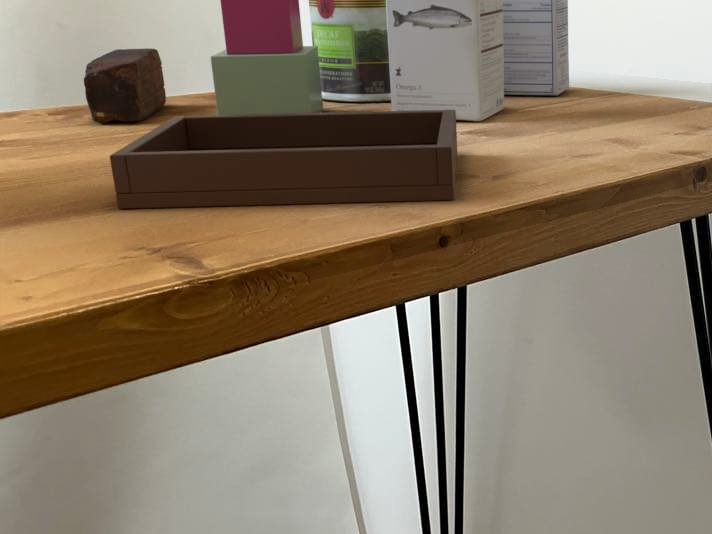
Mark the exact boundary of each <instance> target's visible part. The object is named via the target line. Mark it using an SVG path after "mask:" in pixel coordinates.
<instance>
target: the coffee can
mask: <svg viewBox="0 0 712 534" xmlns="http://www.w3.org/2000/svg"><path fill="white" fill-rule="evenodd" d="M308 6H309V17H310V18H309V19H310V30H311V43H312V46H317V47H318V57H319V68H320V79H321V91H322V101H329V102H340V103H386V102H388V103H389V102H391V87H390V69H389V50H388V32H387V16H386V0H308Z"/></svg>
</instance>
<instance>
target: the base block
mask: <svg viewBox="0 0 712 534" xmlns="http://www.w3.org/2000/svg"><path fill="white" fill-rule="evenodd" d="M210 65H211V72H212V80H213V89H214V95H215V103H216V104H215V105H216V113H217V115H247V114H290V113H322V111H323V110H324V103H323V99H322V91H321V79H320V68H319V57H318V47H317V46H313V45H303V47H302V48H300V49H299V50H297V51H296V52H294V53H282V54H234V55H228V54H227V52H226V49H224V50H222V51H220V52H218V53H215V54H213V55H211V56H210Z"/></svg>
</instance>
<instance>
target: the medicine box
mask: <svg viewBox="0 0 712 534" xmlns="http://www.w3.org/2000/svg"><path fill="white" fill-rule="evenodd" d="M503 40H504V96H550V97H551V96H553V97H554V96H555V97H556V96H560V95H562V94H563V93H565V92H566V91H567V90H568V89H569V88H570V62H569V61H570V59H569V58H570V57H569V0H503Z"/></svg>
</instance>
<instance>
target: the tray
mask: <svg viewBox="0 0 712 534" xmlns="http://www.w3.org/2000/svg"><path fill="white" fill-rule="evenodd" d="M457 132H458V131H457V120H456V111H455V110H419V111H392V110H384V111H382V110H381V111H380V110H379V111H339V112H338V111H337V112H320V113H290V114H247V115H218V114H214V115H213V114H210V115H208V114H207V115H206V114H205V115H204V114H203V115H175V116H174V117H172V118H170V119H168V120H167V121H165V122H163V123H161V124H160V125H158V126H157V127H155V128H153V129H152V130H150V131H148V132H147V133H145V134H143V135H141V136H140V137H138V138H137V139H135V140H134V141H133V140H132V142H130V143H128V144H127V145H125V146H124V147H122V148H120V149H118V150H116V151H115V152H114V153H111V154H110V155H109V162H110V167H111V173H112V180H113V186H114V190H115V198H116V204H117V208H118V210H119V209H120V210H121V209H122V210H124V209H162V208H168V209H169V208H194V207H195V208H201V207H203V208H205V207H235V206H237V207H238V206H240V207H242V206H272V205H273V206H275V205H311V204H347V203H352V204H353V203H384V202H385V203H386V202H387V203H388V202H423V201H453V200H455V189H456V188H455V187H456V175H457V163H458V135H457V134H458V133H457Z"/></svg>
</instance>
